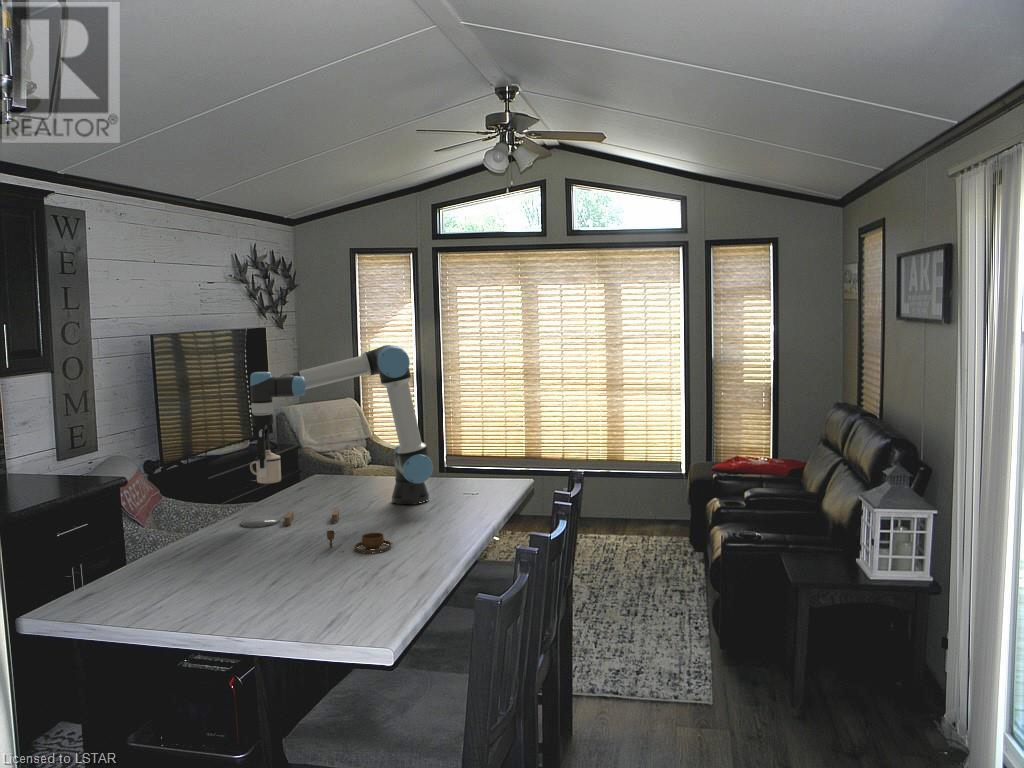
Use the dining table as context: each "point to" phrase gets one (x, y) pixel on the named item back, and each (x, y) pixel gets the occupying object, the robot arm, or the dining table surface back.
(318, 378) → the robot arm
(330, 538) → the place setting
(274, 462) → the teacup with lid
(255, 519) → the grey flat disc
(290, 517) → the walnut cradle
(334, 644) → the dining table surface
